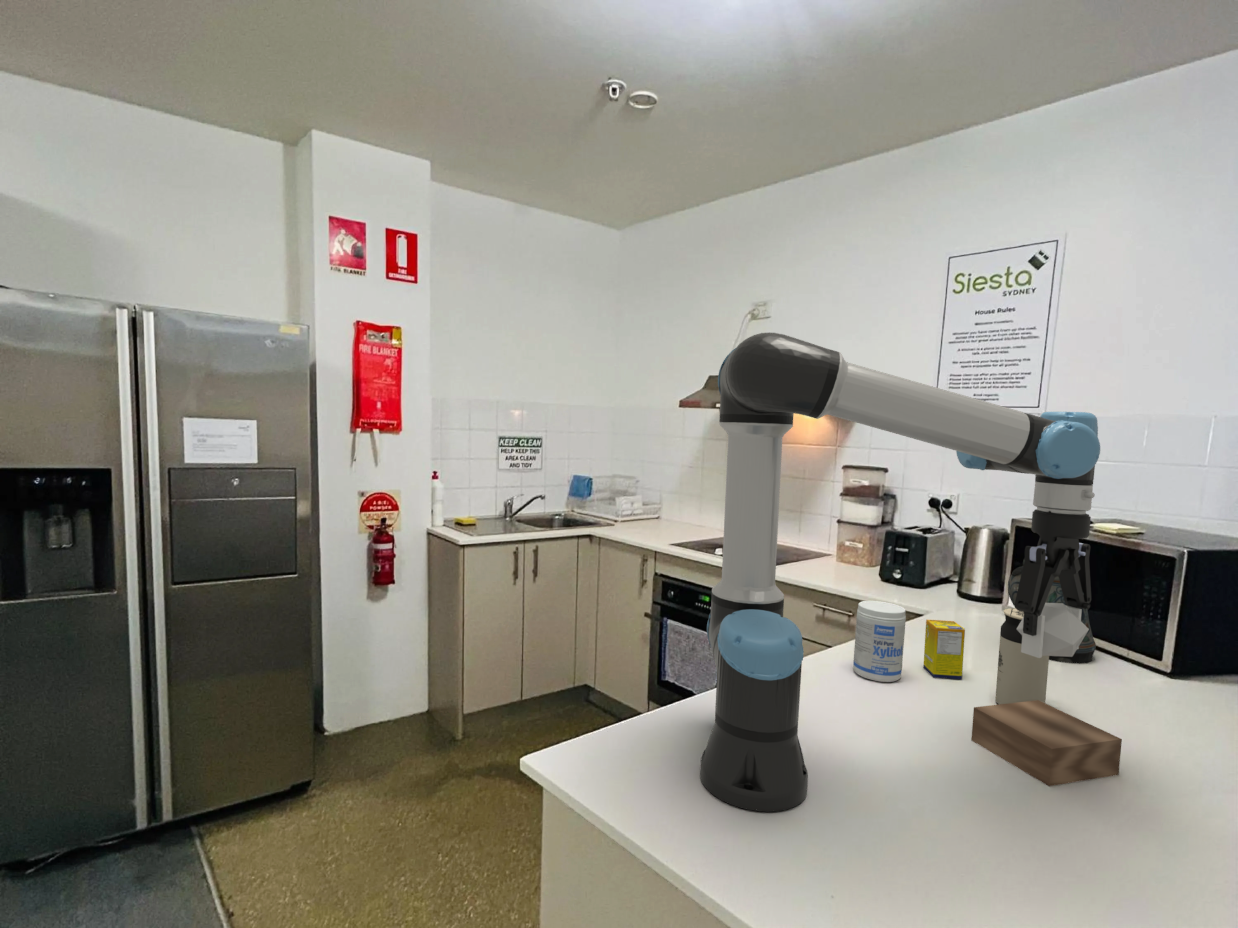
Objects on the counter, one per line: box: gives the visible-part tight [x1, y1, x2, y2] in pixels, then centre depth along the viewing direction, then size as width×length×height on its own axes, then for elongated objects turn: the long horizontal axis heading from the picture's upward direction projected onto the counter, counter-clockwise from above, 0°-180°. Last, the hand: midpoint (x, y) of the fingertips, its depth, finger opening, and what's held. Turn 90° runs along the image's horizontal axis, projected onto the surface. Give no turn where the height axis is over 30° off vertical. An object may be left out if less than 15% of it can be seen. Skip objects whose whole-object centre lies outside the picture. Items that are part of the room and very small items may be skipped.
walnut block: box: [971, 700, 1123, 787], centre depth 102 cm, size 14×14×6 cm
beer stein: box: [1007, 557, 1097, 664], centre depth 153 cm, size 16×19×25 cm
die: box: [1017, 603, 1089, 657], centre depth 101 cm, size 8×9×10 cm
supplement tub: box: [852, 600, 907, 683], centre depth 134 cm, size 10×10×15 cm
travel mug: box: [995, 607, 1050, 705], centre depth 121 cm, size 8×8×18 cm
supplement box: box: [922, 619, 966, 680], centre depth 136 cm, size 6×6×11 cm
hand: (1050, 650), depth 101 cm, fingers closed on die, 9 cm apart
